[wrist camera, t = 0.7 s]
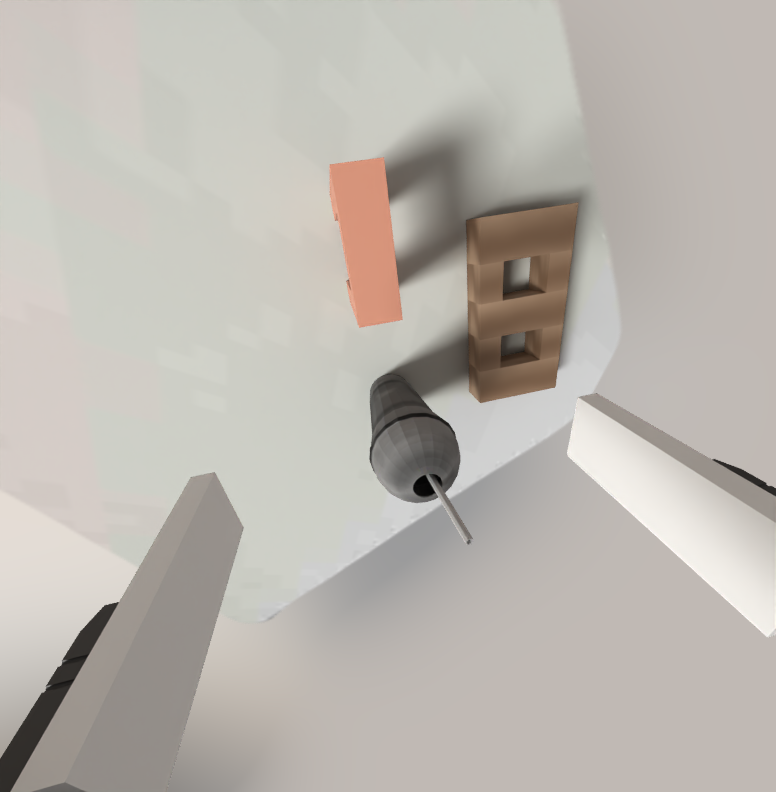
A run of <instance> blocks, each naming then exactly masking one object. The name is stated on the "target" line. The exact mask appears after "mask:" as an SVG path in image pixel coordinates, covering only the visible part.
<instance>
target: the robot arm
mask: <svg viewBox="0 0 776 792" xmlns="http://www.w3.org/2000/svg"><path fill="white" fill-rule="evenodd" d="M567 456H568V457H569V458H571V459H572V460H573V461H574V462H575V463H576V464H577V465H578V466H580V468H582V469H583V470H584V471H585V472H586V473H587V474H588V475H589V476H590V477H592V478H593V479H594V480H595V481H596V482H597V483H598V484H599V485H600V486H602V488H604V489H605V490H606V491H607V492H608V493H609V494H610V495H611V496H612V497H613V498H615V499H616V500H617V501H618V502H619V503H620V504H621V505H622V506H623V507H624V508H626V509H627V510H628V511H629V512H630V513H631V514H632V515H634V517H636V518H637V519H638V520H639V521H640V522H641V523H642V524H643V525H644V526H645V527H647V528H648V529H649V530H650V531H651V532H652V533H653V534H654V535H655V536H656V537H658V538H659V539H660V540H661V541H662V542H663V543H664V544H665V545H666V546H668V547H669V548H670V549H671V550H672V551H673V552H674V553H675V554H676V555H677V556H678V557H680V558H681V559H682V560H683V561H684V562H685V563H686V564H687V565H688V566H690V567H691V568H692V569H693V570H694V571H695V572H696V573H697V574H698V575H699V576H700V577H702V578H703V579H704V580H705V581H706V582H707V583H708V584H709V585H710V586H711V587H713V588H714V589H715V590H716V591H717V592H718V593H719V594H720V595H721V596H722V597H724V598H725V599H726V600H727V601H728V602H729V603H730V604H731V605H732V606H733V607H735V608H736V609H737V610H738V611H739V612H740V613H741V614H742V615H743V616H744V617H746V618H747V619H748V620H749V621H750V622H751V623H752V624H753V625H754V626H755V627H757V628H758V629H759V630H760V631H761V632H762V633H763V634H764V635H766V636H767V637H770V636H774V635H776V488H774V487H772V486H767V485H766V483H765V482H763V481H762V480H760V479H758V478H756V477H754V476H753V475H751V474H749V473H747V472H746V471H744V470H742V469H739V468H737V467H734V466H731V465H729V464H726V463H724V462H721V461H718V460H715V459H713V460H711V459H709V458H708V457H706V456H705V455H703V454H701V453H699V452H698V451H696V450H694V449H692V448H691V447H689V446H687V445H685V444H684V443H682V442H680V441H679V440H677V439H675V438H673V437H672V436H670V435H668V434H666V433H665V432H663V431H661V430H659V429H658V428H656V427H654V426H653V425H651V424H649V423H647V422H645V421H644V420H642V419H640V418H639V417H637V416H635V415H633V414H632V413H630V412H628V411H626V410H625V409H623V408H621V407H620V406H618V405H616V404H614V403H613V402H611V401H609V400H608V399H606V398H604V397H602V396H600V395H599V394H597V393H596V394H591V395H586V396H581V397H578V399H577V404H576V410H575V415H574V420H573V425H572V430H571V436H570V441H569V446H568V451H567ZM242 532H243V526H242V524H241V522H240V520H239V518H238V516H237V514H236V512H235V510H234V508H233V506H232V504H231V502H230V501H229V499H228V497H227V495H226V493H225V491H224V489H223V487H222V485H221V483H220V481H219V479H218V477H217V475H216V474H215V472H214V473H209V474H204V475H199V476H195V477H191V478H190V480H189V482H188V483H187V485H186V487H185V489H184V490H183V492H182V494H181V495H180V497H179V499H178V501H177V502H176V504H175V506H174V508H173V509H172V511H171V513H170V515H169V516H168V518H167V520H166V522H165V523H164V525H163V527H162V529H161V530H160V532H159V534H158V536H157V537H156V539H155V541H154V543H153V544H152V546H151V548H150V549H149V551H148V553H147V555H146V556H145V558H144V560H143V562H142V563H141V565H140V567H139V569H138V570H137V572H136V574H135V576H134V578H133V579H132V581H131V583H130V584H129V586H128V588H127V590H126V592H125V593H124V595H123V597H122V598H121V600H120V602H117V603H113V604H109V605H105V606H104V607H103V608H102V609H101V610H100V611H99V612H98V613H97V614H96V615H95V616H94V618H93V619H92V620H91V621H90V622H89V623H88V624H87V625H86V626H85V627H84V628H83V630H81V631H80V633H79V635H78V636H77V638H76V639H75V641H74V643H73V644H72V646H71V647H70V649H69V650H68V652H67V654H66V655H65V657H64V658H63V660H62V665H61V666H60V667H58V668H57V670H56V671H55V673H54V674H53V676H52V677H51V679H50V681H49V682H48V684H47V685H46V691H45V692H44V693H41V695H40V697H39V698H38V700H37V701H36V703H35V704H34V706H33V708H32V709H31V711H30V713H29V714H28V716H27V717H26V719H25V721H24V722H23V724H22V725H21V727H20V728H19V730H18V732H17V733H16V735H15V736H14V738H13V739H12V741H11V743H10V744H9V746H8V747H7V749H6V751H5V752H4V754H3V755H2V757H1V758H0V792H167V788H168V785H169V782H170V778H171V775H172V771H173V768H174V765H175V761H176V758H177V754H178V751H179V747H180V744H181V740H182V737H183V733H184V730H185V726H186V723H187V720H188V716H189V713H190V710H191V706H192V703H193V699H194V696H195V693H196V689H197V686H198V682H199V679H200V675H201V672H202V668H203V665H204V662H205V658H206V655H207V651H208V648H209V645H210V641H211V638H212V634H213V631H214V627H215V624H216V621H217V617H218V614H219V610H220V607H221V604H222V600H223V597H224V593H225V590H226V586H227V583H228V580H229V576H230V573H231V569H232V566H233V562H234V559H235V556H236V552H237V549H238V545H239V542H240V539H241V535H242Z"/></svg>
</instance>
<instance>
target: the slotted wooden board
mask: <svg viewBox="0 0 776 792" xmlns="http://www.w3.org/2000/svg"><path fill="white" fill-rule="evenodd" d="M577 210H578V203H572V204H566V205H559V206H553V207H546V208H540V209H533V210H527V211H520V212H514V213H507V214H500V215H494V216H487V217H481V218H476V219H470V220H466V233H467V289H468V345H469V392H470V393H471V394H472V395H473V396H474V397H475V398H476V399H477V400H478V401H479V402H480V403H483V402H487V401H492V400H497V399H502V398H506V397H511V396H516V395H521V394H525V393H530V392H535V391H540V390H545V389H549V388H554V387H555V386H556V378H557V370H558V362H559V354H560V346H561V338H562V330H563V322H564V314H565V306H566V298H567V290H568V282H569V274H570V266H571V258H572V250H573V242H574V234H575V226H576V218H577ZM527 257H531V261H530V275H529V289H526V290H521V291H515V292H509V293H504V294H503V271H504V261H509V260H515V259H521V258H527ZM521 332H526V333H525V347H524V352H520V353H515V354H510V355H505V356H501V336H505V335H510V334H515V333H521Z"/></svg>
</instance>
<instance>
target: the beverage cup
mask: <svg viewBox="0 0 776 792" xmlns="http://www.w3.org/2000/svg"><path fill="white" fill-rule="evenodd" d="M370 409H371V423H372V441H371V447H370V463H371V465H372V468H373V471H374V472H375V474H376V475H377V478H378V480H379V481H380V483H381V484H382V485H383V486H384V487H385V488H386V489H387V490H388V491H389V492H390V493H391V494H392V495H394V496H396V497H398V498H400V499H401V500H404V501H408V502H414V503H420V502H428V501H431V500H434V499H436V498H438V497H439V499H440V501H441V502H442V504H443V506H444V507H445V509H446V511H447V513H448V514H449V516H450V517H451V519H452V521H453V523H454V524H455V526H456V528H457V530H458V531H459V533H460V535H461V537H462V538H463V540H464V542H465V543H466V544H467V545H469V544H471V543H472V542H473V538H472V537H471V535H470V533H469V532H468V530H467V528H466V527H465V525H464V523H463V522H462V520H461V519H460V517H459V515H458V514H457V512H456V510H455V509H454V507H453V506H452V504H451V503H450V500H449V499H448V497H447V496H446V494H445V492H446V491H447V490H448V489H449V488H450V487H451V486H452V484H453V482H454V480H455V479H456V477H457V475H458V470H459V465H460V452H459V447H458V442H457V440H456V436H455V432H454V431H453V429H452V428H451V426H450V425H449V423H447V422H446V421H445V420H443V419H442V418H440V417H439V416H438V415H436V414H435V413H434V412H432V410H431V409H430V408H429V407H428V406H427V404H426V403H425V402H424V401H423V400H422V399H421V397H420V396H419V395H418V394H417V393H416V391H415V390H414V389H413V388H412V387H411V386H410V384H409V383H407V382H406V381H405V379H403V378H402V377H400V376H398V375H395V374H387V375H384V376H381V377H380V378H378V379H377V380H376V381H375V382H374V383H373V384H372V387H371V390H370Z"/></svg>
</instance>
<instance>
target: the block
mask: <svg viewBox="0 0 776 792" xmlns="http://www.w3.org/2000/svg"><path fill="white" fill-rule="evenodd" d="M330 197H331V202H332V208H333V213H334V218H335V221H337V220H338V222H339V227H340V232H341V238H342V243H343V249H344V254H345V260H346V265H347V270H348V276H349V281H346V282H347V287H348V293H349V298H350V303H351V306H352V308H353V311H354V314H355V317H356V320H357V322H358V325H359V328H360V327H365V326H371V325H376V324H382V323H388V322H393V321H399V320H403V319H402V310H401V302H400V293H399V284H398V276H397V267H396V258H395V250H394V241H393V233H392V224H391V215H390V207H389V198H388V189H387V181H386V172H385V163H384V157H383V158H376V159H368V160H361V161H353V162H345V163H338V164H330Z"/></svg>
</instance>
